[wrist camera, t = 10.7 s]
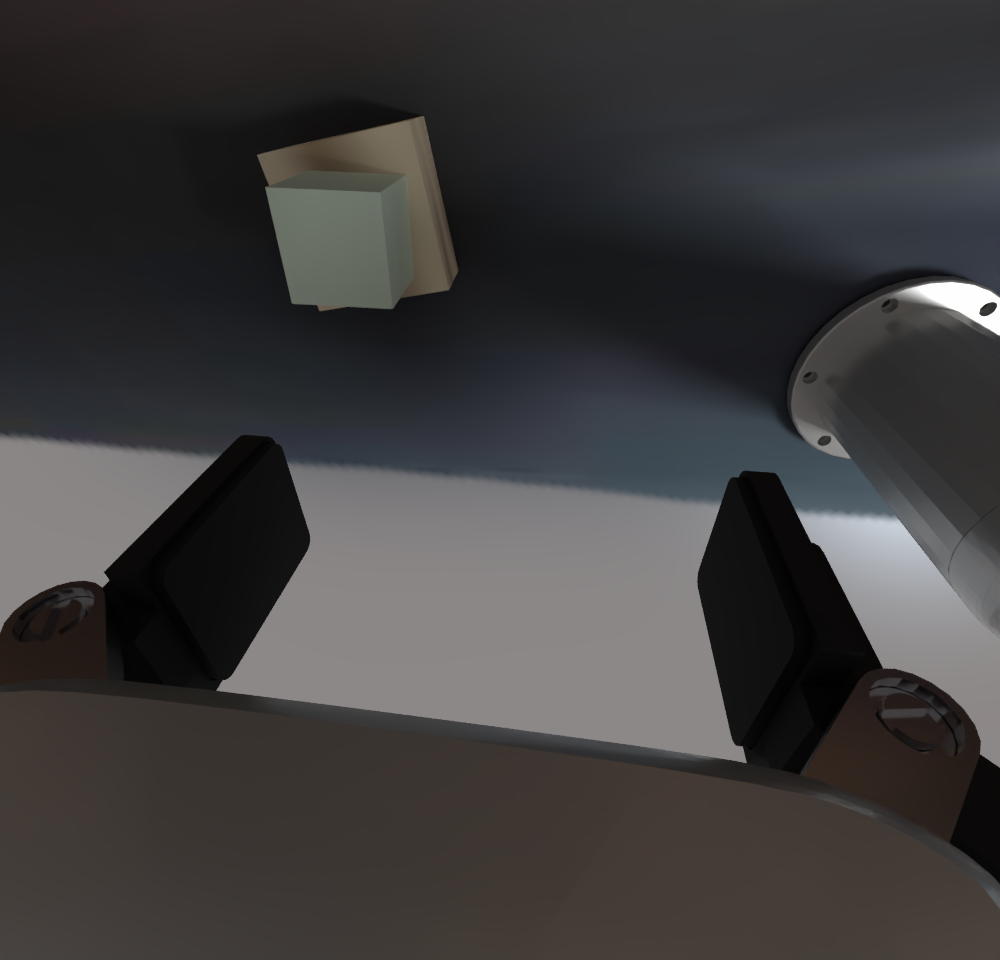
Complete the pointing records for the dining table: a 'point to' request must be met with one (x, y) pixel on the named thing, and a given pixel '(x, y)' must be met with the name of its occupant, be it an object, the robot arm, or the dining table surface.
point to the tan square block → (387, 154)
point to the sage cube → (344, 237)
